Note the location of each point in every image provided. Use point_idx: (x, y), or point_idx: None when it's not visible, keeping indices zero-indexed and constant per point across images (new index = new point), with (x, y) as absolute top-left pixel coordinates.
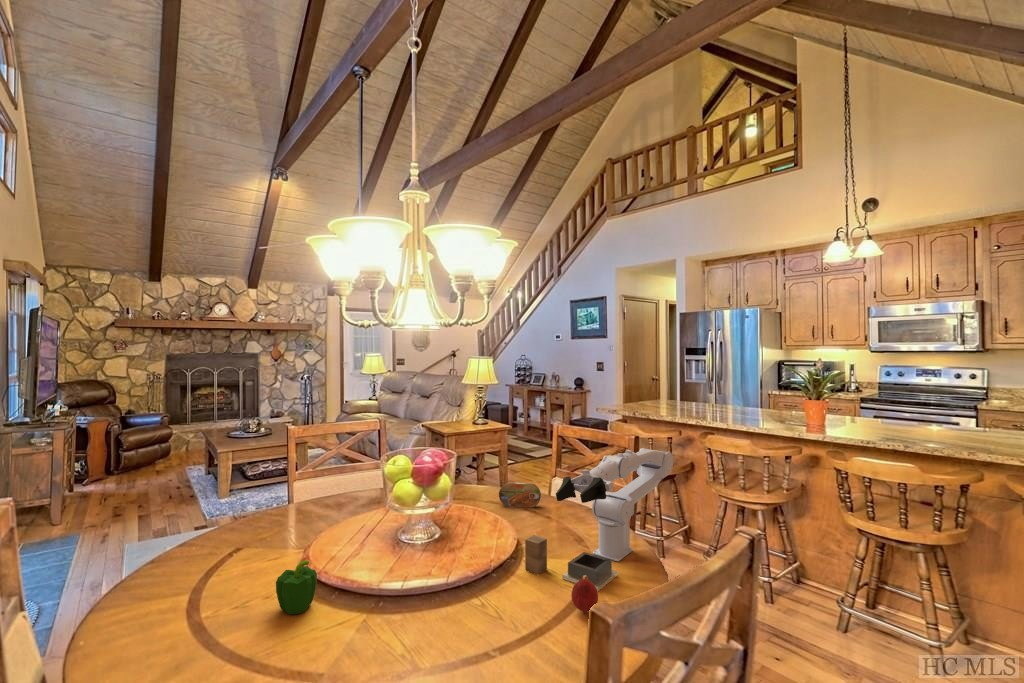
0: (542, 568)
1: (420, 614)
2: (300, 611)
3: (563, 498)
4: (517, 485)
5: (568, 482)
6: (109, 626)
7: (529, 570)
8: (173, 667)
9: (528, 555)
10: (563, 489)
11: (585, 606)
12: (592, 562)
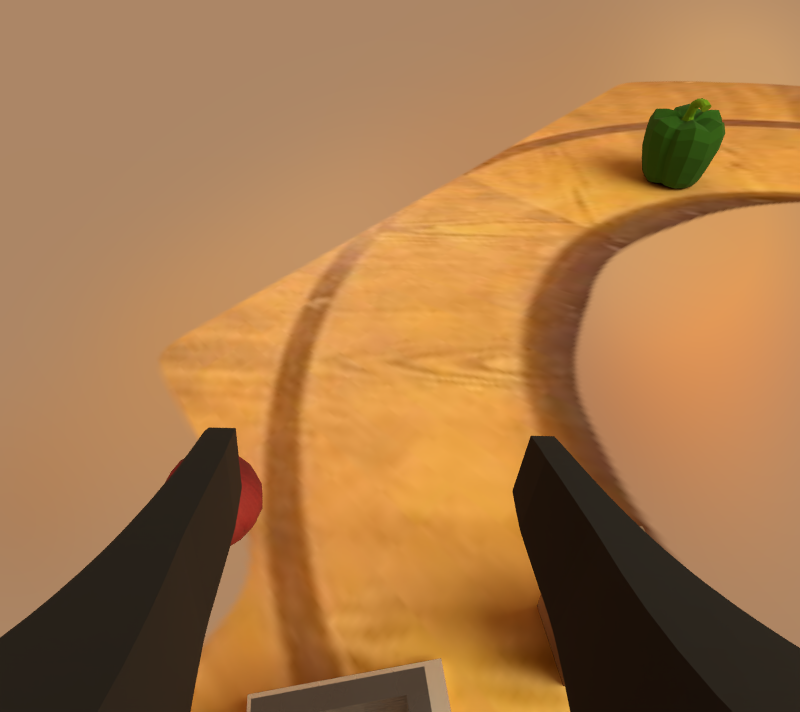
0: (552, 637)
1: (528, 275)
2: (644, 174)
3: (535, 555)
4: None
5: (654, 645)
6: (721, 89)
7: None
8: (582, 113)
9: None
10: (577, 534)
11: None
12: None
